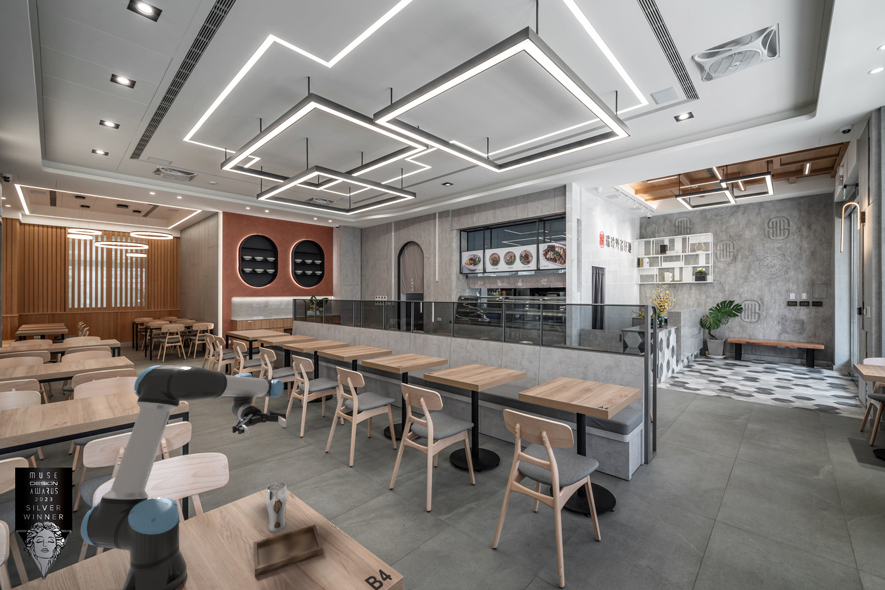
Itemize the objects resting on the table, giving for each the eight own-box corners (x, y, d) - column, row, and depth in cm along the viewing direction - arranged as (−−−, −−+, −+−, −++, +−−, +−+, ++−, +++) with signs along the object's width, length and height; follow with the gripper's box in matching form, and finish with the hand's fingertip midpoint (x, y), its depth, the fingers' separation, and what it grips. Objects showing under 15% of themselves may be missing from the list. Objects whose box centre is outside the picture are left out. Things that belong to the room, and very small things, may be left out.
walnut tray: (254, 576, 116) (254, 569, 116) (253, 548, 128) (253, 542, 128) (322, 554, 125) (322, 547, 125) (315, 530, 138) (315, 524, 138)
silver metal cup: (279, 533, 136) (279, 492, 135) (262, 531, 137) (261, 490, 137) (291, 521, 143) (290, 482, 142) (274, 519, 144) (273, 480, 144)
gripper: (280, 416, 171) (299, 429, 155) (217, 431, 154) (231, 447, 139) (279, 399, 171) (299, 411, 155) (216, 412, 154) (231, 427, 138)
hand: (267, 428), depth 147 cm, fingers open, 13 cm apart
